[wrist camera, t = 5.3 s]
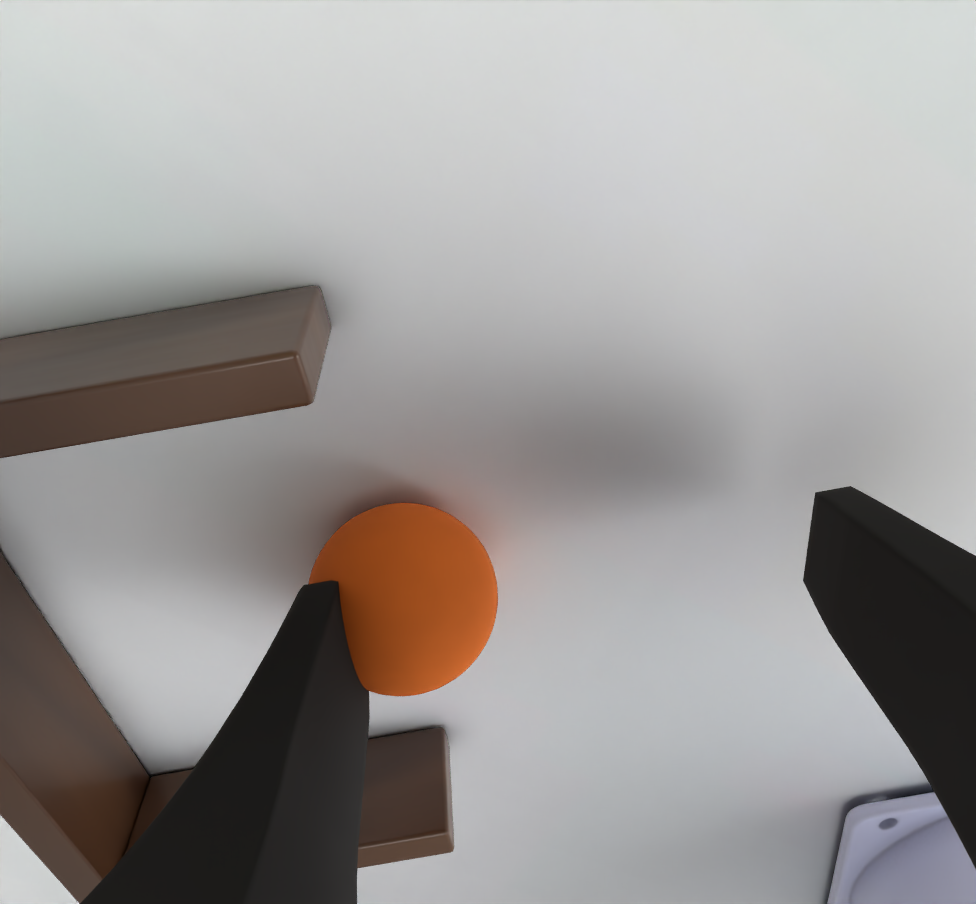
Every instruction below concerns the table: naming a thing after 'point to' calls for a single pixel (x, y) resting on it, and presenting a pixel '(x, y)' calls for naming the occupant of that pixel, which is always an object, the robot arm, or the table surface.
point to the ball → (410, 596)
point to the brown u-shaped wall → (41, 657)
